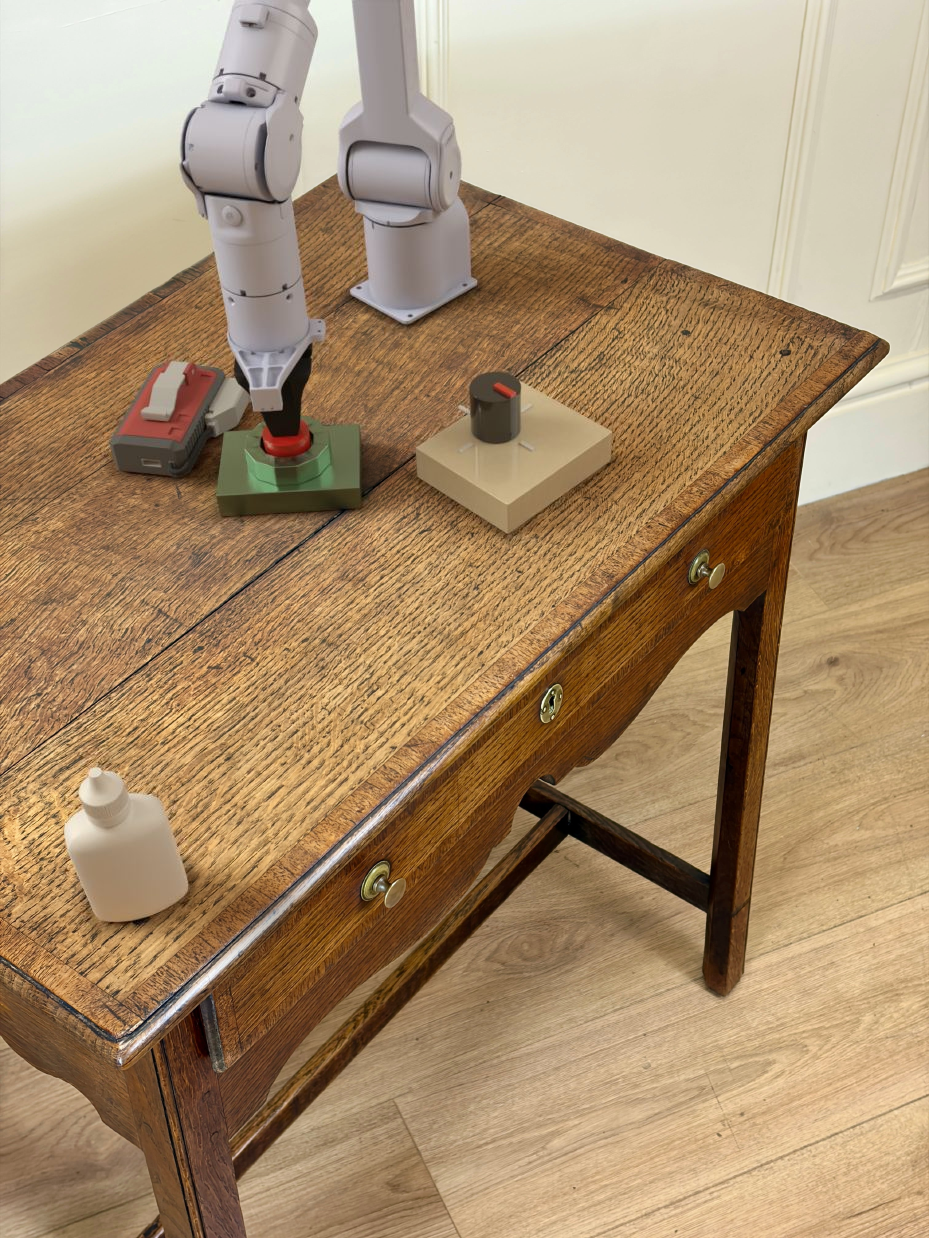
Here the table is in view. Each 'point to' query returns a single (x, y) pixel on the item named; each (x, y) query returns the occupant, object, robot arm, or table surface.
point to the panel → (515, 461)
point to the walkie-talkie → (176, 418)
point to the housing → (291, 473)
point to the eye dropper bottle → (124, 850)
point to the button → (287, 442)
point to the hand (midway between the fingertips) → (285, 431)
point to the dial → (495, 407)
